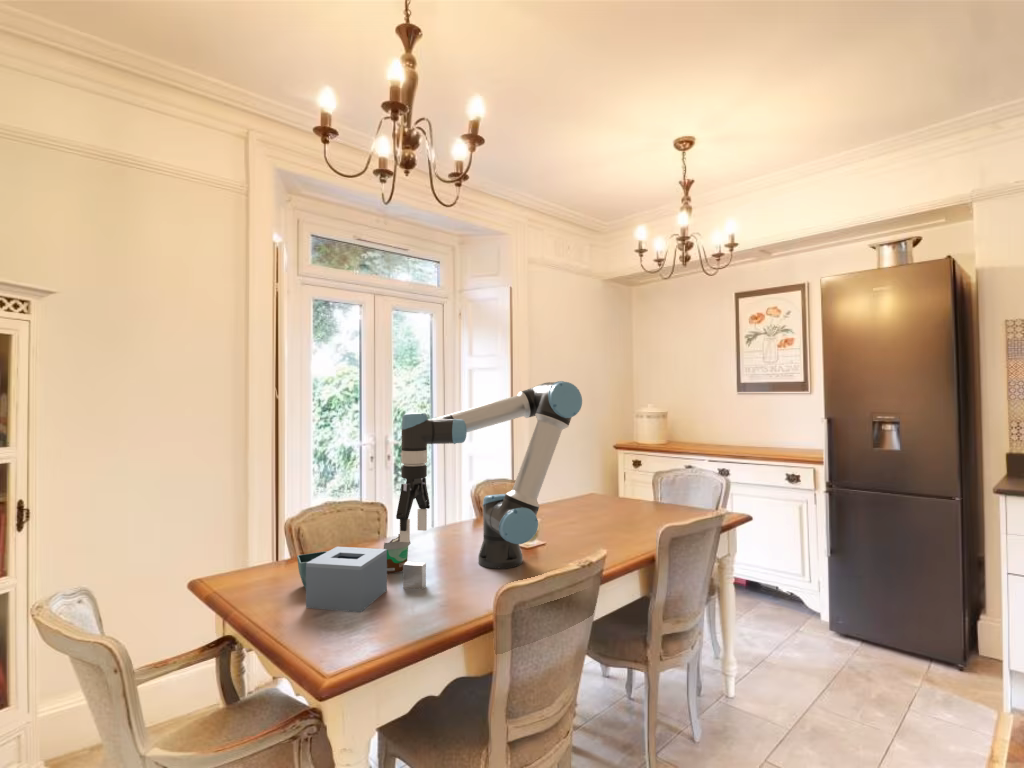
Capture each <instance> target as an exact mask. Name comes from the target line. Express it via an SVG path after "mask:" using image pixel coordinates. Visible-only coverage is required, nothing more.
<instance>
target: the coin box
mask: <svg viewBox="0 0 1024 768" xmlns="http://www.w3.org/2000/svg"><path fill="white" fill-rule="evenodd" d="M387 591H388V573H387V549H384V548H371V547H369V548H368V547H351V546H335V547H334V548H332V549H330V550H328V551H327V552H326V553H324V554H322V555H320V556H318V557H316V558H315V559H313V560H311V561H309V562H307V563H306V589H305V608H306V609H317V610H327V611H328V610H329V611H342V612H343V611H344V612H354V613H362V612H363V611H364V610H365V609H367V607H369V606H370V605H371V604H372V603H374V602H375V601H376V600H377V599H379V597H381V596H382V595H383V594H384V593H386V592H387Z"/></svg>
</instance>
